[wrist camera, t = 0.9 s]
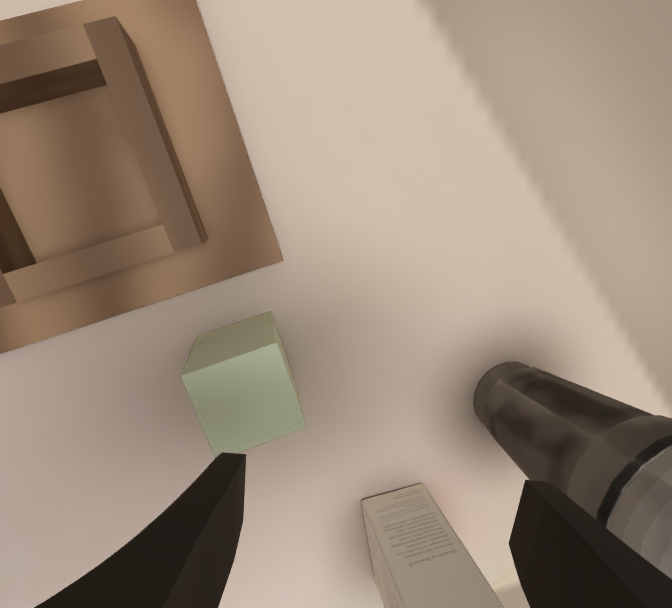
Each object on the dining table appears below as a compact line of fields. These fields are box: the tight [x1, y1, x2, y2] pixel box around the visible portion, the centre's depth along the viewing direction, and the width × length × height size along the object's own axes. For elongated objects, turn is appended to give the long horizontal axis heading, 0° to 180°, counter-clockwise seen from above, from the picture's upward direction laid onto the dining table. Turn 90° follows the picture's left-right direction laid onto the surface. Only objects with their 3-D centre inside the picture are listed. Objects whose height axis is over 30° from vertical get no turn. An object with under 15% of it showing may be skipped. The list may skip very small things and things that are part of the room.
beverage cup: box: [474, 362, 672, 579], centre depth 18 cm, size 7×7×20 cm
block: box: [180, 312, 307, 458], centre depth 21 cm, size 4×4×6 cm
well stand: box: [0, 0, 283, 354], centre depth 19 cm, size 15×13×4 cm
